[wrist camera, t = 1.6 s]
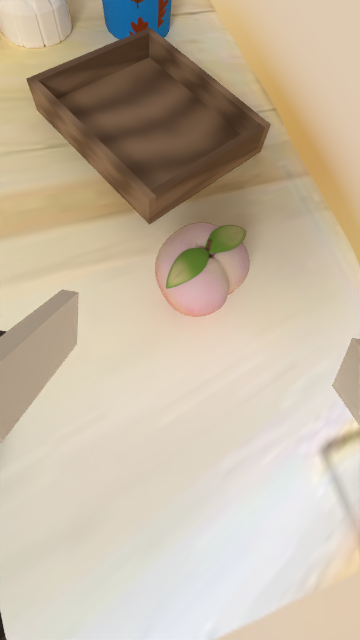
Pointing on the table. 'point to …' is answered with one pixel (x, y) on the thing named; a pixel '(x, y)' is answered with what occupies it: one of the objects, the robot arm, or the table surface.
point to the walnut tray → (148, 120)
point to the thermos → (136, 16)
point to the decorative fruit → (201, 267)
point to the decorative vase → (35, 22)
